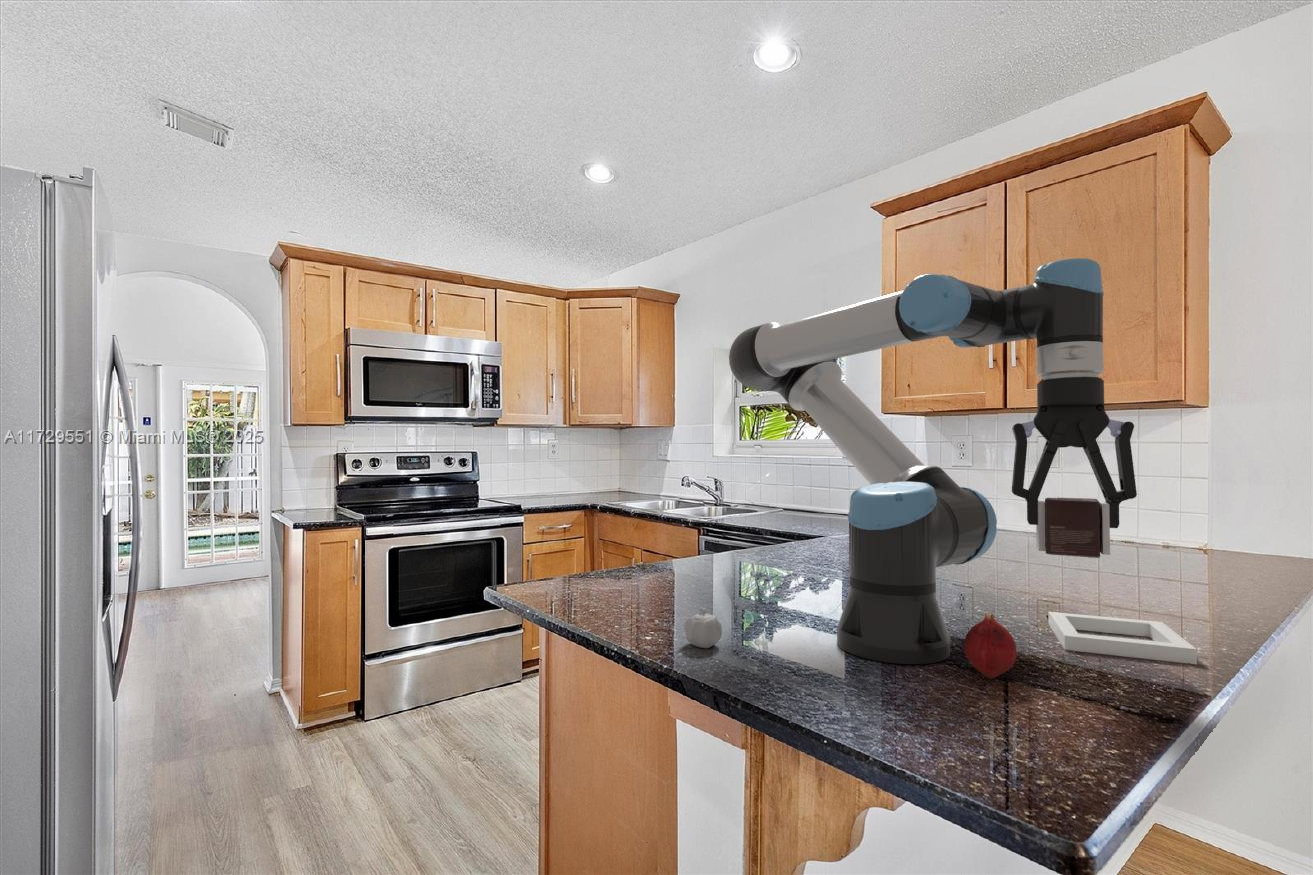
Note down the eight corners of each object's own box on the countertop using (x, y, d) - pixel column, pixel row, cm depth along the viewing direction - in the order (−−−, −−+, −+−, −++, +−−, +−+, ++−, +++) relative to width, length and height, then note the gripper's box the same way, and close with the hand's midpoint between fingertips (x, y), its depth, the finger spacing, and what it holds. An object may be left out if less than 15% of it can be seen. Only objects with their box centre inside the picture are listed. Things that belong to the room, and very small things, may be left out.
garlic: (687, 638, 96) (688, 603, 96) (724, 640, 95) (724, 605, 95) (681, 650, 90) (681, 613, 90) (719, 653, 89) (719, 615, 89)
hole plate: (1064, 649, 91) (1064, 635, 91) (1048, 623, 105) (1048, 611, 105) (1197, 664, 85) (1196, 649, 85) (1161, 634, 99) (1161, 621, 99)
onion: (1024, 689, 76) (1023, 621, 76) (971, 685, 77) (971, 618, 77) (1007, 672, 82) (1007, 609, 82) (959, 669, 83) (958, 607, 83)
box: (1100, 559, 81) (1099, 501, 81) (1044, 555, 84) (1044, 499, 84) (1098, 553, 86) (1098, 498, 86) (1046, 549, 89) (1045, 496, 89)
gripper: (989, 378, 86) (991, 550, 86) (1168, 370, 78) (1171, 561, 78) (986, 383, 93) (988, 543, 93) (1151, 377, 85) (1154, 552, 84)
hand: (1072, 551), depth 85 cm, fingers closed on box, 6 cm apart
